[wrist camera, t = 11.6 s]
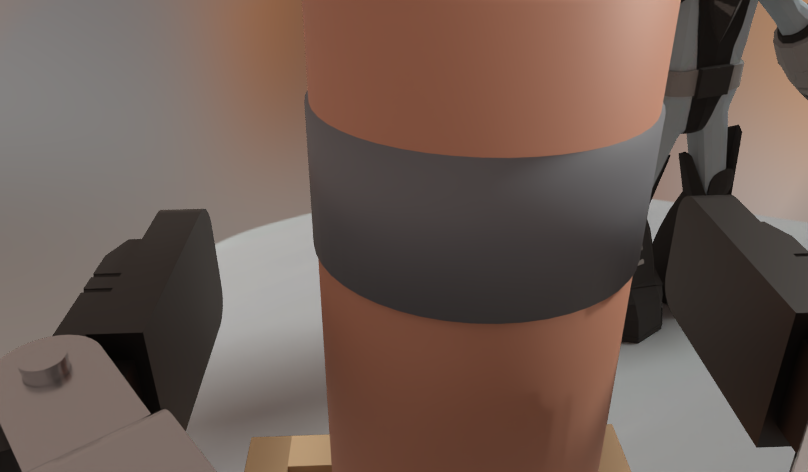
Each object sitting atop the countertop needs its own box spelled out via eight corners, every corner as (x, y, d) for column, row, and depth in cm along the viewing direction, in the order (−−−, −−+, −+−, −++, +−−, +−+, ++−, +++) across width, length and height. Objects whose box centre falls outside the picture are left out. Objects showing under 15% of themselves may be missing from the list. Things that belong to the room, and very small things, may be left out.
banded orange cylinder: (536, 577, 17) (619, -54, 11) (584, 795, 13) (764, 4, 7) (346, 582, 17) (312, -52, 10) (337, 804, 13) (272, 6, 6)
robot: (785, 229, 35) (917, -266, 26) (874, 278, 31) (1070, -287, 22) (413, 318, 29) (405, -287, 20) (464, 393, 25) (487, -322, 16)
